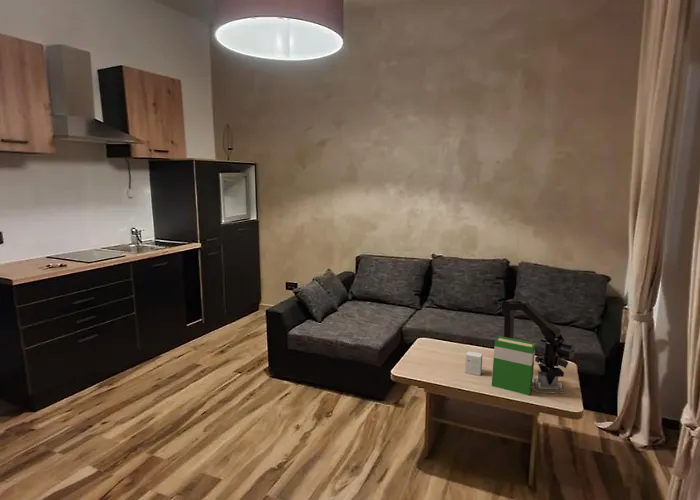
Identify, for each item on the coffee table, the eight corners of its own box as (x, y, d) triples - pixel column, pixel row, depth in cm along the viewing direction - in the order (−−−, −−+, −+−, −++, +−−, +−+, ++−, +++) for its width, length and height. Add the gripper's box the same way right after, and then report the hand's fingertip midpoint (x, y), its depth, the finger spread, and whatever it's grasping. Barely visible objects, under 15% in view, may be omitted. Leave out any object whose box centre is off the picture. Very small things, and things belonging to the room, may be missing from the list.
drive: (541, 386, 214) (542, 375, 213) (537, 381, 218) (538, 371, 218) (558, 386, 214) (559, 375, 213) (553, 382, 219) (554, 371, 218)
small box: (481, 372, 234) (483, 353, 232) (480, 376, 229) (481, 357, 227) (466, 369, 237) (467, 350, 235) (464, 373, 232) (465, 354, 230)
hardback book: (491, 385, 218) (494, 340, 214) (495, 380, 224) (498, 335, 220) (528, 395, 209) (533, 347, 205) (531, 389, 215) (535, 343, 211)
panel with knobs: (538, 392, 212) (538, 384, 211) (530, 383, 221) (530, 376, 220) (564, 392, 212) (565, 385, 212) (555, 384, 221) (556, 376, 220)
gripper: (576, 360, 204) (573, 391, 207) (557, 345, 223) (554, 373, 225) (553, 359, 204) (550, 391, 207) (536, 344, 223) (533, 373, 225)
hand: (547, 382), depth 216 cm, fingers closed on drive, 4 cm apart
